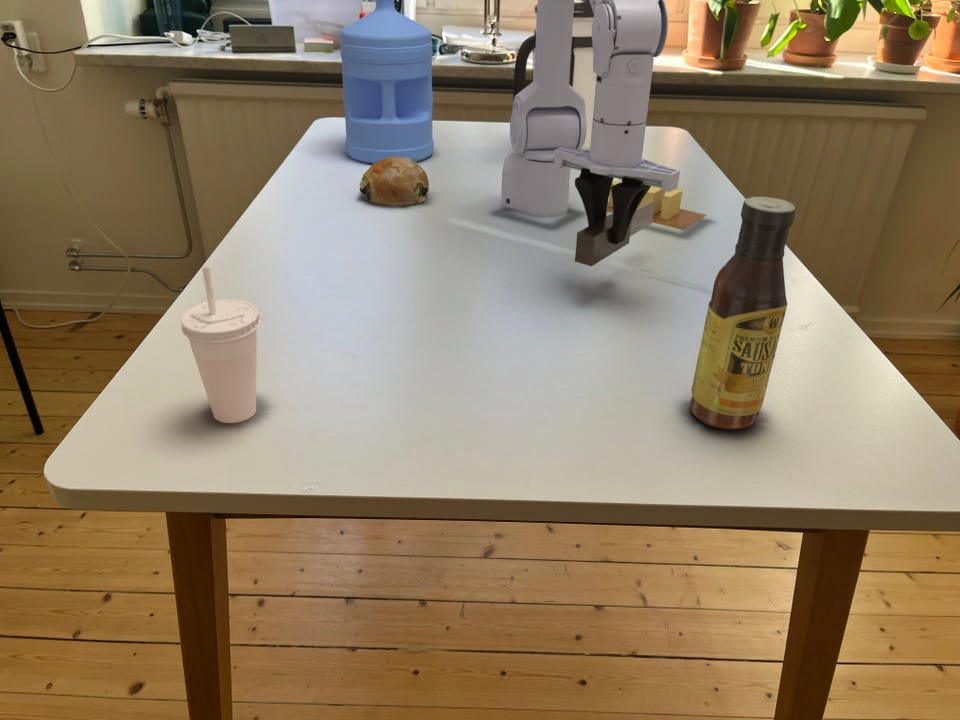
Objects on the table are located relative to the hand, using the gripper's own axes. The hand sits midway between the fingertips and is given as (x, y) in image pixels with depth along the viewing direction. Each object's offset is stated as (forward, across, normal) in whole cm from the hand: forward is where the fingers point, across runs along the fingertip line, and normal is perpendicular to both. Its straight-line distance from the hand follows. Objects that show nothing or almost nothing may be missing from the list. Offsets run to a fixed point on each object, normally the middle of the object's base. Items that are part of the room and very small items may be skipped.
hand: (607, 238), depth 94 cm
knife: (+1, 0, +3) cm, 3 cm away
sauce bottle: (+7, +22, -17) cm, 29 cm away
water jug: (+7, -59, +28) cm, 66 cm away
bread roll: (+7, -42, +10) cm, 44 cm away
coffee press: (+7, -35, +47) cm, 59 cm away
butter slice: (+6, -4, +27) cm, 28 cm away
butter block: (+6, -9, +27) cm, 29 cm away
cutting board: (+7, -7, +27) cm, 29 cm away
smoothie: (+7, -13, -44) cm, 46 cm away
